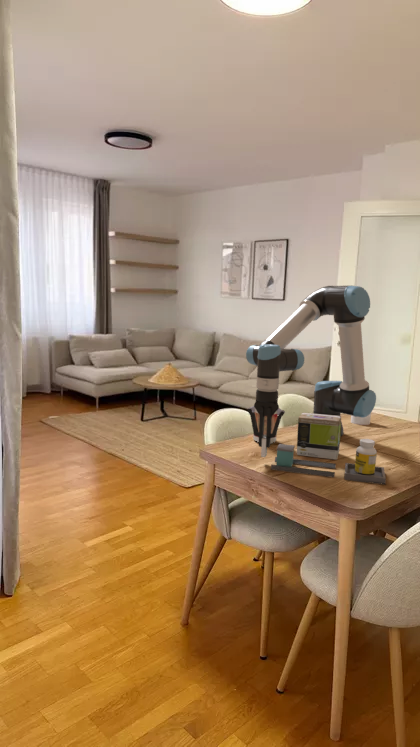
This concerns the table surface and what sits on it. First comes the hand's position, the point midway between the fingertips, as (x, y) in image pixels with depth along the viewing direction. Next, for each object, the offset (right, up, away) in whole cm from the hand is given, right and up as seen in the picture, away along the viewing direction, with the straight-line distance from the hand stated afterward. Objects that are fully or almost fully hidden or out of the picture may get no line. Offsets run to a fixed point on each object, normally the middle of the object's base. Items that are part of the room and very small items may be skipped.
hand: (263, 455), depth 176 cm
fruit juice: (+3, +1, +29) cm, 30 cm away
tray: (+32, -5, -9) cm, 34 cm away
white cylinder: (+54, +5, +67) cm, 86 cm away
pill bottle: (+32, -5, -9) cm, 34 cm away
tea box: (+22, -2, +14) cm, 26 cm away
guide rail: (+13, -4, -3) cm, 14 cm away
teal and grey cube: (+7, -3, -2) cm, 8 cm away
